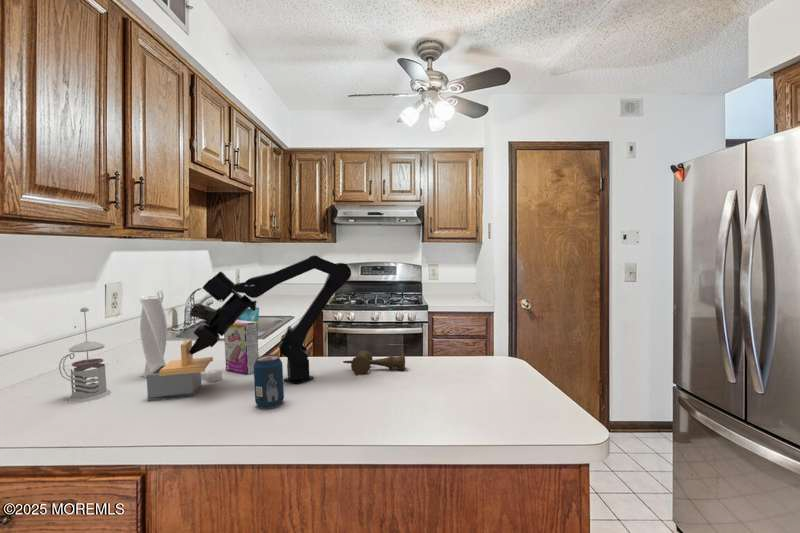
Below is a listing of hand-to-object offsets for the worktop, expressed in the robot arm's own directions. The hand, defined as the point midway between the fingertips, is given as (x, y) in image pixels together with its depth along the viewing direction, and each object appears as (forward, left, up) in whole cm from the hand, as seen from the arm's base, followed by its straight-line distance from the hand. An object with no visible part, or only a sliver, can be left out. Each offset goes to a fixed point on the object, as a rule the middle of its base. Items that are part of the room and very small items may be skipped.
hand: (190, 353), depth 116 cm
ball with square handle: (+6, -9, -11) cm, 15 cm away
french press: (+22, +19, -11) cm, 31 cm away
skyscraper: (+26, -1, -11) cm, 28 cm away
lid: (+1, +1, -4) cm, 4 cm away
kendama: (-31, -43, -11) cm, 54 cm away
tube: (+14, -27, -11) cm, 32 cm away
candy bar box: (+6, -19, -11) cm, 23 cm away
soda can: (-28, -6, -11) cm, 31 cm away
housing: (+3, +3, -11) cm, 12 cm away
